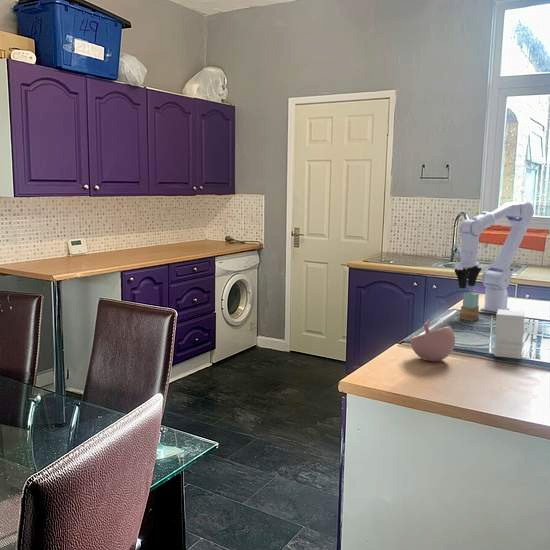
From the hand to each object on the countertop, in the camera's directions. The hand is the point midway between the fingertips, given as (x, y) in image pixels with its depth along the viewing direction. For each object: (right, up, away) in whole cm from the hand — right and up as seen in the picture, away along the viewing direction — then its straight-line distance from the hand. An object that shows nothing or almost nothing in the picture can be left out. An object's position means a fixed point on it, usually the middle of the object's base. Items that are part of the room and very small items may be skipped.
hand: (466, 286), depth 215 cm
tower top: (-1, -10, -7) cm, 12 cm away
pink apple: (-29, -20, -57) cm, 67 cm away
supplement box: (-5, -19, -51) cm, 54 cm away
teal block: (-1, -7, -8) cm, 11 cm away
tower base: (-2, -12, -7) cm, 14 cm away
